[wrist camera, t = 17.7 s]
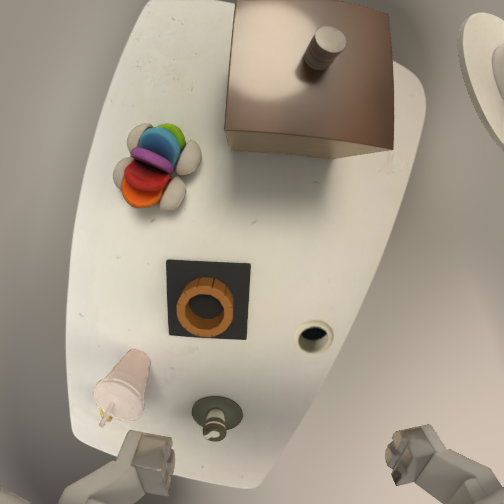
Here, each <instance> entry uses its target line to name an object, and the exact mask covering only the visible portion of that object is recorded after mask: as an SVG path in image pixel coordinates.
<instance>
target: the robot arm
mask: <svg viewBox="0 0 504 504" xmlns="http://www.w3.org/2000/svg"><path fill="white" fill-rule="evenodd" d="M492 64H493V71H494V76H495V80H496V83H497V86H498V89H499V91H500V94H501V96H502V98H503V100H504V44H503V45H501V46H498V47H497V48H496V49H495V50H494V53H493V58H492ZM392 439H393V441H392V442H391V443H390V444H389V445H388V446H387V449H386V452H385V459H386V463H387V466H388V467H390V468H392V469H393V471H392V473H391V475H392V477H393V480H394V482H395V484H396V486H399V485H403V484H407V483H411V482H415V483H416V484H417V485H418V486H420V487H421V488H422V489H424V490H425V491H426V492H428V493H429V494H430V495H432V496H433V497H435V498H436V499H437V500H439V501H440V502H441V503H443V504H504V487H502V486H501V484H500V483H499V481H498V480H497V478H496V477H495V475H494V473H493V472H492V470H491V469H490V468H488V467H486V466H484V465H481V464H479V463H477V462H475V461H473V460H471V459H469V458H467V457H465V456H463V455H461V454H459V453H457V452H454V451H453V450H451V449H448V450H447V449H446V447H445V446H444V444H443V443H442V441H441V440H440V438H439V436H438V435H437V433H436V432H435V430H434V429H433V427H432V426H431V425H429V424H427V425H423V426H419V427H414V428H409V429H405V430H400V431H396V432H395V433H394V434H393V437H392ZM172 444H173V443H172V438H171V437H165V436H160V435H154V434H149V433H144V432H138V431H133V430H130V431H129V432H128V433H127V435H126V437H125V440H124V442H123V445H122V447H121V449H120V452H119V454H118V457H117V459H116V462H115V461H111V462H109V463H108V464H106V465H104V466H103V467H101V468H99V469H98V470H96V471H94V472H92V473H91V474H89V475H87V476H86V477H84V478H82V479H80V480H79V481H77V482H75V483H73V484H71V485H70V486H68V487H66V488H65V490H64V492H63V494H62V496H61V498H60V500H59V502H58V504H134V503H135V502H136V501H137V500H139V499H140V498H141V497H142V496H143V495H144V494H145V493H151V494H157V495H164V496H168V495H169V491H170V486H171V479H170V475H172V474H173V472H174V467H175V453H174V450H173V449H171V448H172ZM0 504H32V503H30V502H28V501H27V500H25V499H23V498H21V497H19V496H17V495H15V494H13V493H12V492H10V491H8V490H6V489H5V488H3V487H1V486H0Z"/></svg>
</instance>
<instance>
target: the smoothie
mask: <svg viewBox="0 0 504 504" xmlns="http://www.w3.org/2000/svg"><path fill="white" fill-rule="evenodd" d="M149 368H150V359H149V357H148V356H147V354H145V353H144V352H143V351H140V350H137V349H133V350H130V351H129V352H128V353H127V354H126V355H125V356H124V357H123V358H122V359H121V360H120V362H119V363H118V364H117V365H116V366H115V367H114V368H113V369H112V371H111V372H110V373H109V374H108V375H107V376H106V377H105V378H104V379H101V380H100V381H99V382H98V383H97V385H96V387H95V389H94V392H93V395H94V399H95V402H96V403H97V405H98V406H99V408H100V409H101V410H102V411H103V412H105V413H104V416H103V418H102V420H101V422H100V424H99V426H100V427H101V428H103V427H104V425H105V423H106V421H107V419H108V417H109V416H110V417H112V418H115V419H117V420H121V421H133V420H136V419H138V418H139V417H140V416H141V414H142V412H143V410H144V407H145V403H144V393H145V388H146V383H147V378H148V373H149Z"/></svg>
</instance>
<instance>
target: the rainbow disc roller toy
mask: <svg viewBox="0 0 504 504" xmlns="http://www.w3.org/2000/svg"><path fill="white" fill-rule="evenodd" d="M127 147H128V150H129V152H130V153H131V156H132V157H127V158H124V159H122V160H121V161H120V162H119V163H118V164H117V165H116V167H115V169H114V173H113V179H114V183H115V185H116V186H117V187H118V188H119V189H120V190H122V194H123V197H124V199H125V200H126V201H127V203H128V204H129V205H131V206H132V207H136V208H145V207H151V206H154V205H156V204H158V203H160V209H161V210H164V211H170V210H174V209H176V208H177V207H179V205H180V204H181V202H182V200H183V198H184V196H185V193H186V188H185V185H184V183H183V181H182V180H181V179H180V178H179V177H178V176H175V177H174V178H172V179H170V177H171V175H170V174H171V173H172V172H173V169H175V172H176V174H178V175H186V174H190V173H192V172H193V171H195V170H196V168H197V166H198V164H199V162H200V160H201V157H202V152H201V149H200V147H199V145H198V144H197V143H196V142H195V141H193V140H190V141H189V142H188V143H187V145H186V142H185V138H184V135H183V133H182V132H181V130H180V129H179V128H178V127H176V126H174V125H172V124H162V125H159V126H157V127H153V126H152V125H151V124H141V125H138V126H136V127H135V128H134V129H133V130H132V131H131V132H130V134H129V136H128V139H127Z"/></svg>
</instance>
